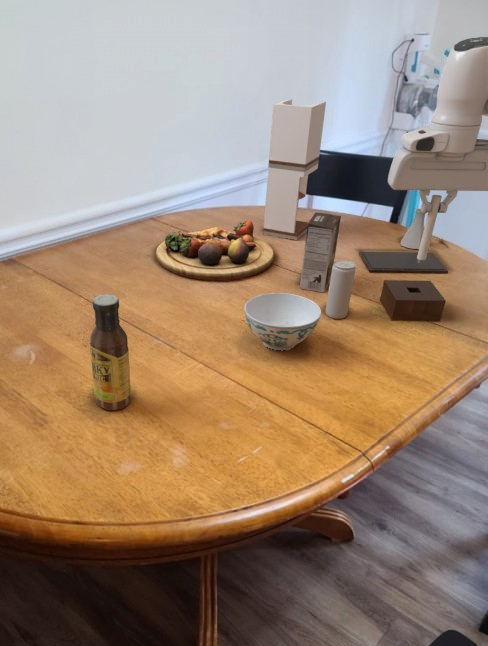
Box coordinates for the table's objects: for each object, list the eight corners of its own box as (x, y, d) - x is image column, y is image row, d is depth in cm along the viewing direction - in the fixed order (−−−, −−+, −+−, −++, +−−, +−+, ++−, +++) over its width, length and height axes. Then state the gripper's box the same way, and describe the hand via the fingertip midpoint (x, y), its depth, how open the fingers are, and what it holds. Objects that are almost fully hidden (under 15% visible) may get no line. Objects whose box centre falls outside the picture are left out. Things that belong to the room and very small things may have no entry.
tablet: (431, 255, 156) (432, 251, 155) (447, 273, 145) (448, 270, 145) (358, 254, 156) (359, 251, 156) (369, 272, 146) (370, 269, 145)
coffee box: (306, 275, 144) (315, 211, 135) (332, 279, 142) (342, 214, 133) (298, 288, 138) (306, 223, 128) (324, 293, 136) (335, 226, 126)
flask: (396, 246, 161) (404, 211, 155) (404, 239, 166) (412, 204, 160) (421, 251, 158) (430, 215, 152) (429, 244, 163) (438, 209, 157)
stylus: (423, 260, 122) (440, 194, 114) (425, 264, 121) (443, 197, 113) (414, 260, 122) (431, 194, 114) (417, 263, 121) (433, 197, 113)
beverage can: (340, 322, 123) (349, 270, 116) (320, 315, 126) (328, 264, 119) (351, 314, 126) (360, 263, 119) (332, 308, 129) (340, 257, 122)
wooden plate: (229, 231, 172) (231, 203, 167) (298, 265, 149) (301, 235, 145) (135, 251, 158) (134, 221, 153) (195, 292, 136) (195, 259, 131)
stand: (425, 300, 132) (430, 280, 129) (440, 321, 124) (446, 300, 121) (379, 299, 133) (384, 279, 130) (391, 320, 124) (396, 299, 121)
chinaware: (330, 342, 116) (336, 308, 111) (286, 370, 107) (290, 334, 103) (272, 319, 125) (275, 286, 120) (227, 343, 116) (229, 308, 111)
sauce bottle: (89, 400, 99) (76, 296, 88) (118, 387, 102) (110, 285, 91) (108, 417, 95) (97, 310, 84) (139, 403, 98) (132, 299, 87)
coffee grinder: (296, 240, 165) (311, 107, 145) (263, 234, 169) (273, 104, 149) (310, 229, 173) (326, 101, 153) (277, 224, 177) (289, 98, 157)
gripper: (499, 136, 110) (478, 208, 118) (393, 135, 110) (379, 206, 118) (514, 142, 105) (490, 217, 113) (402, 141, 105) (387, 216, 113)
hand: (433, 212), depth 115 cm, fingers closed on stylus, 2 cm apart
